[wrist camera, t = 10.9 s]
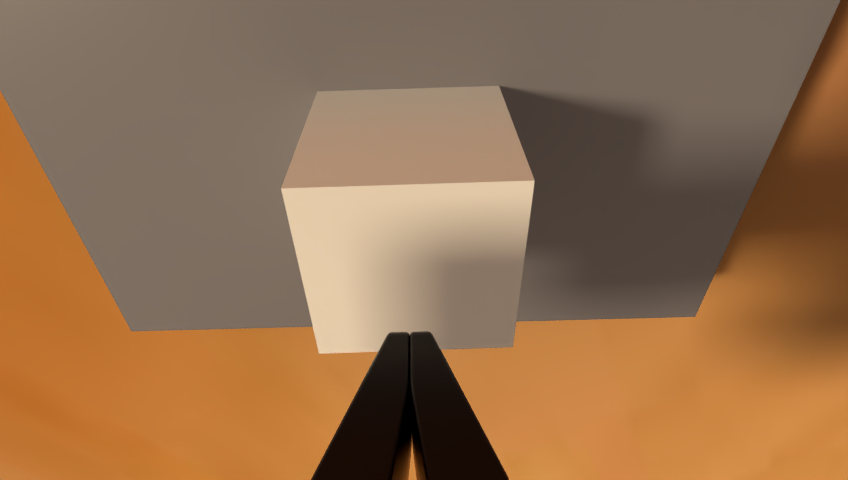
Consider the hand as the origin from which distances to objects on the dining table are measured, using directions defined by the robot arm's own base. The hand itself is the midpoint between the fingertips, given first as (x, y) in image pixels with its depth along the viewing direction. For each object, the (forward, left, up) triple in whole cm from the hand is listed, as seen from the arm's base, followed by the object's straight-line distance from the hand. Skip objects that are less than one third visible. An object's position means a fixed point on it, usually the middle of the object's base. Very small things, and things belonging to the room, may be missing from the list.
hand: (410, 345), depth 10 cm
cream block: (0, 0, -10) cm, 10 cm away
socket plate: (0, 0, -10) cm, 10 cm away
